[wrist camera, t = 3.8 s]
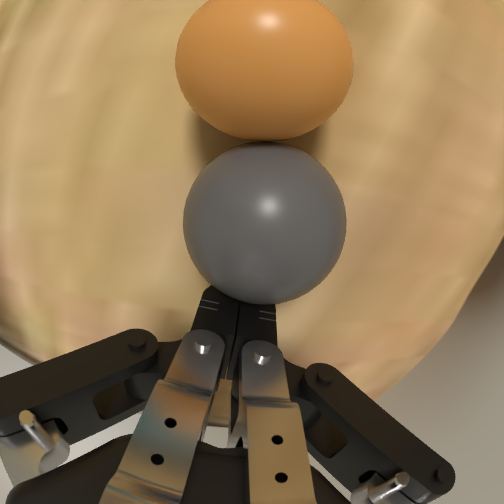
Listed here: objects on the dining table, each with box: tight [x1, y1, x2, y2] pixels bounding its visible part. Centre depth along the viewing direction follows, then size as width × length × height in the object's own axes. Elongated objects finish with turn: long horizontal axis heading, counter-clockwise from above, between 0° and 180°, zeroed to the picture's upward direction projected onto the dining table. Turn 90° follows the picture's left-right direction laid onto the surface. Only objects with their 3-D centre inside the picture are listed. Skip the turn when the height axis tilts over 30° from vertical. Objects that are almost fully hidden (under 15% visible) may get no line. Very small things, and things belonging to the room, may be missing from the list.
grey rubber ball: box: [183, 141, 346, 305], centre depth 9 cm, size 6×6×6 cm
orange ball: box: [175, 0, 353, 141], centre depth 7 cm, size 6×6×6 cm
